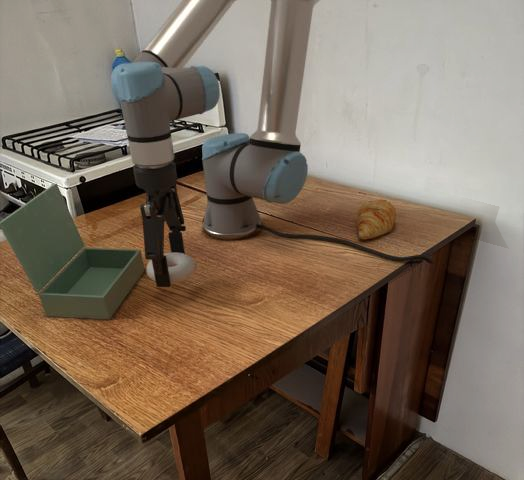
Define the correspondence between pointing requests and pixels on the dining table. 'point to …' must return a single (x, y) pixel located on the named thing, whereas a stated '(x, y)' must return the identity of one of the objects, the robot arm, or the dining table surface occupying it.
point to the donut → (175, 267)
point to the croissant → (375, 219)
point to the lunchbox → (93, 283)
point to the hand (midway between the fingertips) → (171, 273)
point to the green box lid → (43, 236)
